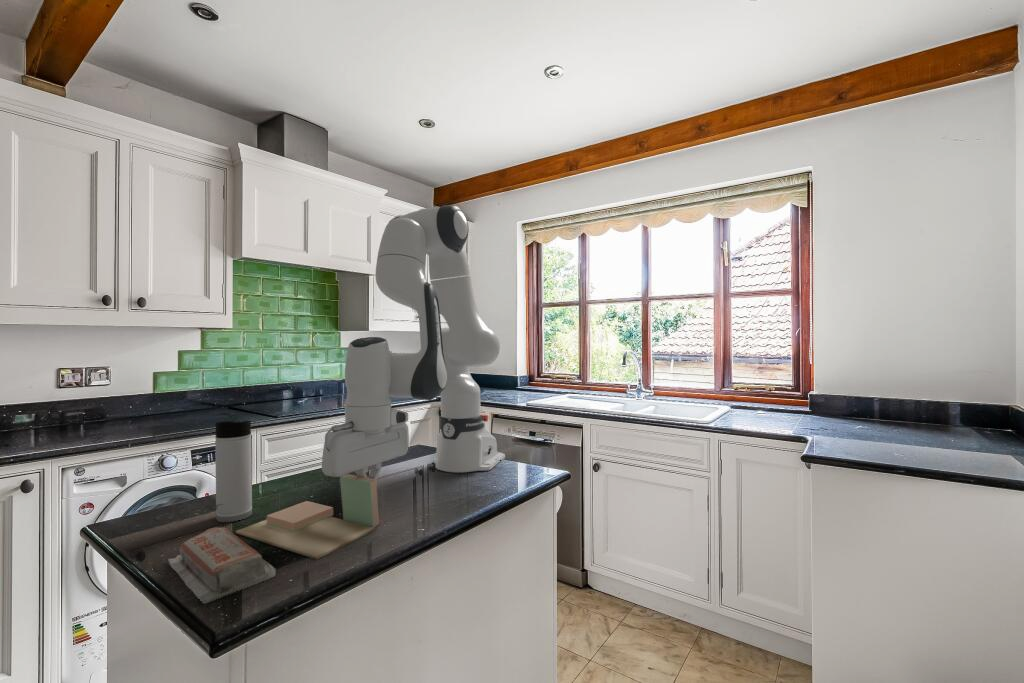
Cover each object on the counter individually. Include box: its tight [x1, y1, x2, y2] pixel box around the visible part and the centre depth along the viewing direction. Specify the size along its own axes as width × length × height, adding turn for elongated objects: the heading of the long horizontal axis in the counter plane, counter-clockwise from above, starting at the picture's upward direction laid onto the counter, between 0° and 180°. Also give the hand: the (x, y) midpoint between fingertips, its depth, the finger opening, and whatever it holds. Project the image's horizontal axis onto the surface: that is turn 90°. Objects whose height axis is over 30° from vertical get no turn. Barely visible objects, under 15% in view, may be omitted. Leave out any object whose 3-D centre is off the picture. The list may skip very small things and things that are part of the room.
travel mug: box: [214, 420, 253, 523], centre depth 94 cm, size 6×7×20 cm
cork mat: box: [235, 516, 376, 560], centre depth 87 cm, size 13×22×1 cm, turn 62°
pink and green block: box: [339, 473, 380, 528], centre depth 91 cm, size 2×8×9 cm, turn 62°
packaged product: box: [167, 526, 277, 605], centre depth 73 cm, size 18×5×10 cm
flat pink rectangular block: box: [266, 500, 334, 532], centre depth 92 cm, size 2×8×9 cm
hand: (368, 487), depth 93 cm, fingers closed
